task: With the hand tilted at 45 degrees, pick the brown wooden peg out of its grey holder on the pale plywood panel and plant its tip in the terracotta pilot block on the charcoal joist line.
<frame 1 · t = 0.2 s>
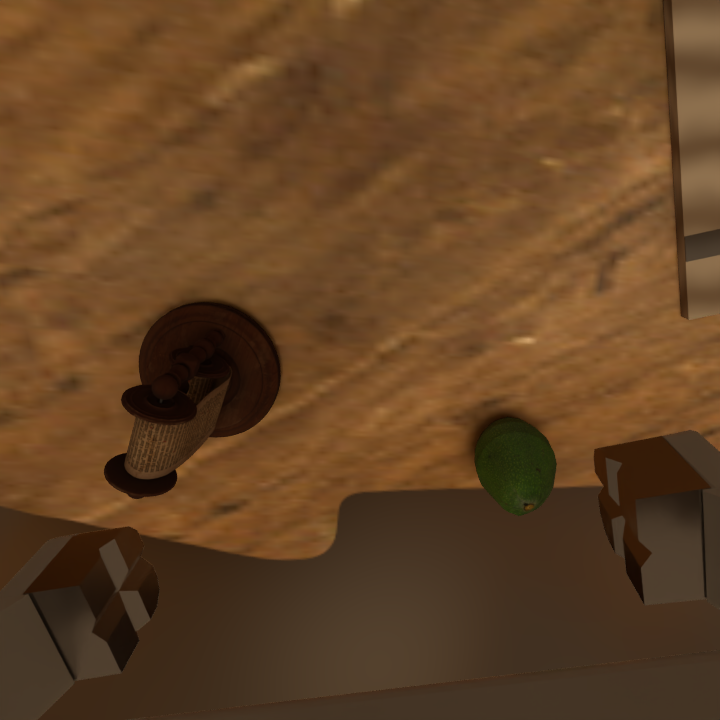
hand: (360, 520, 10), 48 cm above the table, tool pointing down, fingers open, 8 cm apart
avocado: (505, 437, 62), on the table
scroll: (216, 364, 61), on the table
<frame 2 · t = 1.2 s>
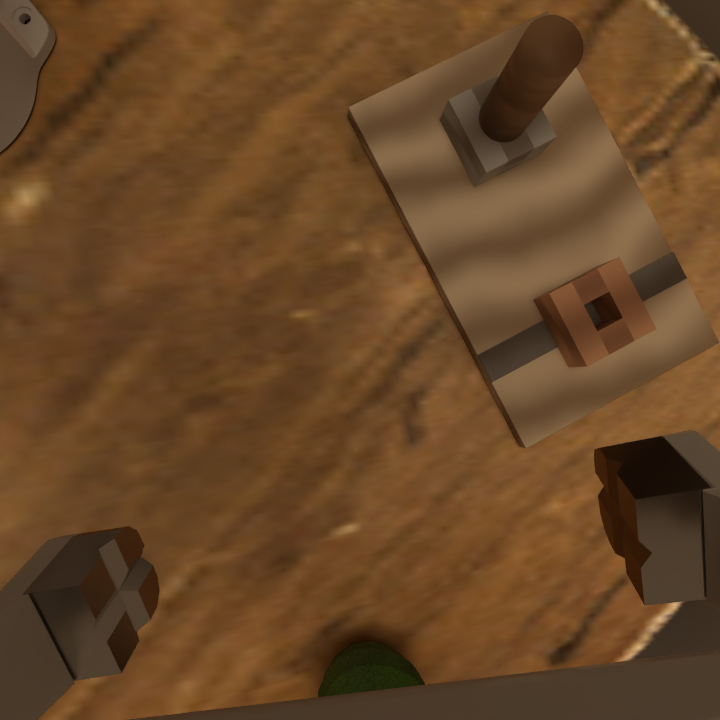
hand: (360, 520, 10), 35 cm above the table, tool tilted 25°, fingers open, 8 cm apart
brown wooden peg: (490, 135, 44), point 2 cm above the table, touching subfloor panel
subfloor panel: (529, 231, 46), on the table
avocado: (368, 672, 44), on the table
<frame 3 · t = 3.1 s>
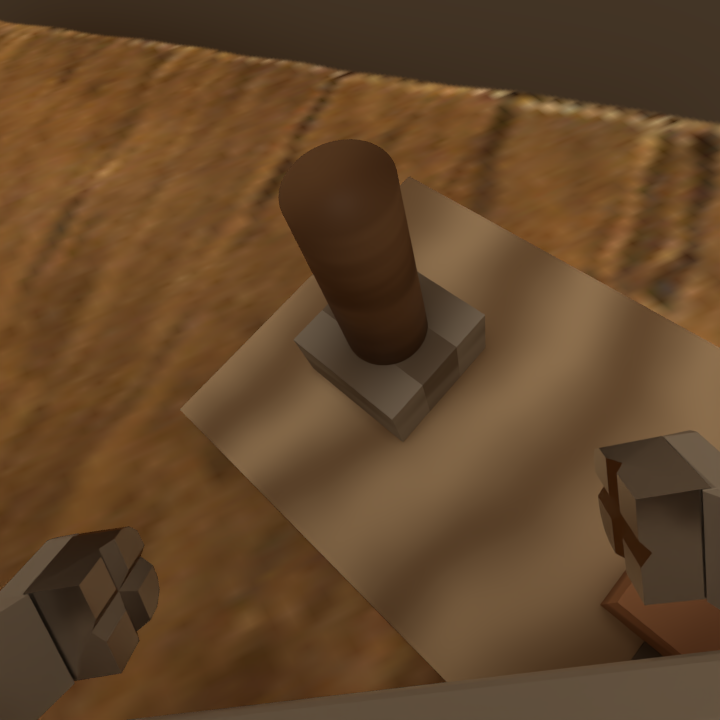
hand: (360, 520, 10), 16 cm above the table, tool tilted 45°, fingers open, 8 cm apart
brown wooden peg: (396, 356, 27), point 2 cm above the table, touching subfloor panel
subfloor panel: (533, 470, 25), on the table
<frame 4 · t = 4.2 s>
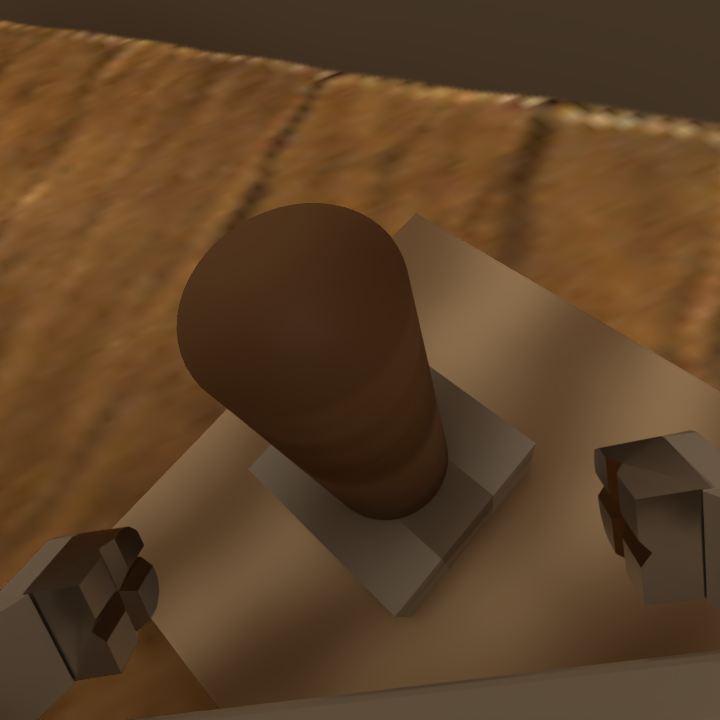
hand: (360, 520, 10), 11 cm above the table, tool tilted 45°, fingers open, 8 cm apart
brown wooden peg: (399, 479, 19), point 2 cm above the table, touching subfloor panel
subfloor panel: (602, 660, 17), on the table
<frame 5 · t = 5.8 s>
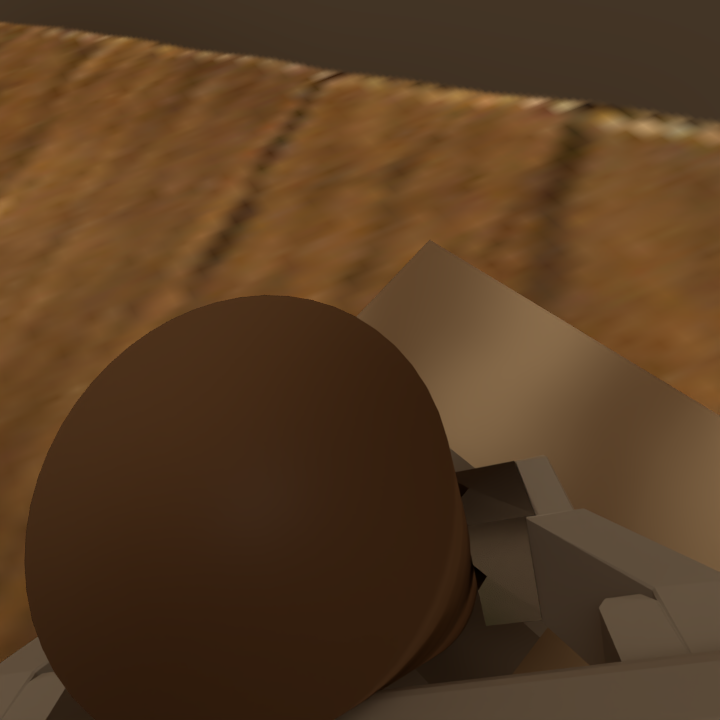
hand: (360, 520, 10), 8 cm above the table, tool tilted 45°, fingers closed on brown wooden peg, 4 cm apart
brown wooden peg: (411, 582, 15), point 2 cm above the table, touching gripper, subfloor panel
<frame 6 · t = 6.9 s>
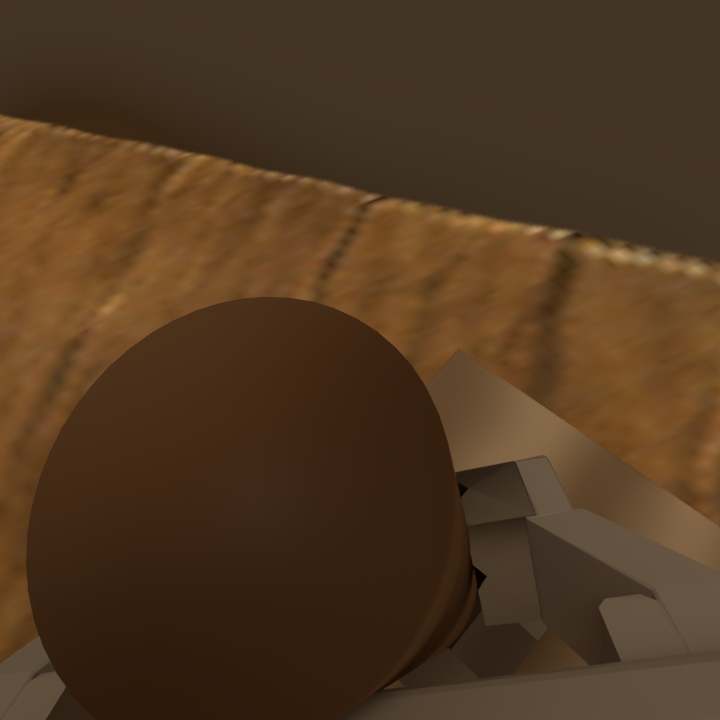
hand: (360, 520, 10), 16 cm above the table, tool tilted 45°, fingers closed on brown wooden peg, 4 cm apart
brown wooden peg: (411, 582, 15), point 10 cm above the table, touching gripper
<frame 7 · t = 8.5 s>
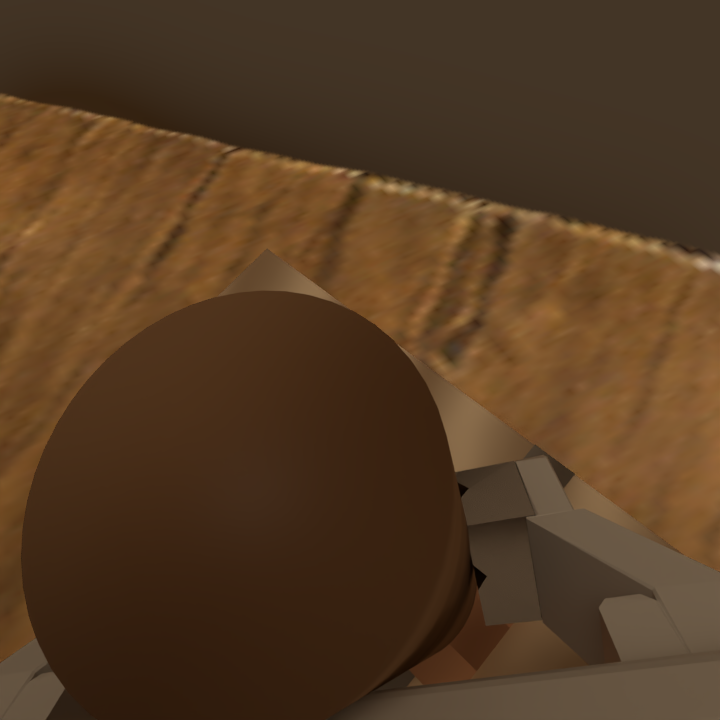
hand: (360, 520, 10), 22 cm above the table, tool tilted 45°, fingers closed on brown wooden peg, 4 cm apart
brown wooden peg: (411, 580, 15), point 15 cm above the table, touching gripper
subfloor panel: (335, 496, 32), on the table
when the fingers open (9 cm above the table, at t = 10.4 s): brown wooden peg drops 1 cm, resting on subfloor panel.
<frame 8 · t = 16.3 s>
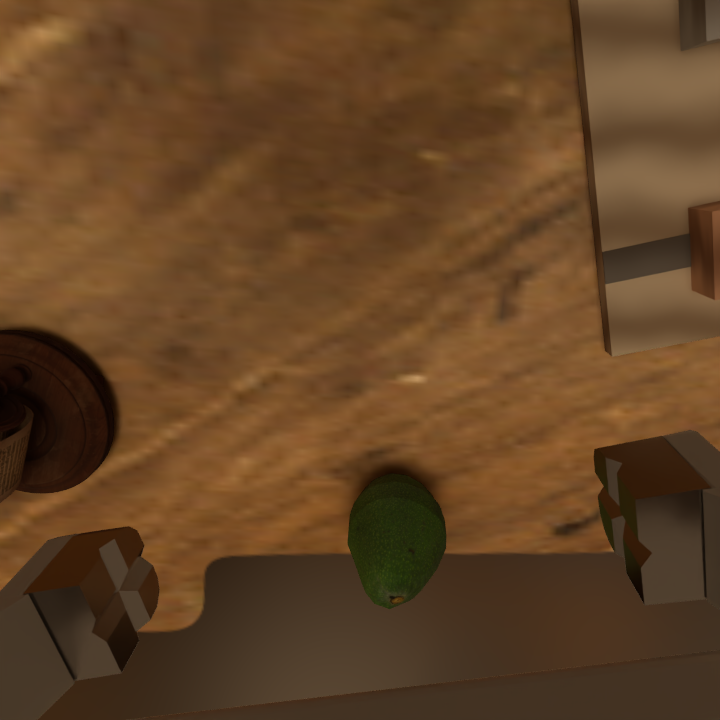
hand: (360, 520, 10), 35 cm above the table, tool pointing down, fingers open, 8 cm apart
subfloor panel: (719, 123, 39), on the table
avocado: (397, 494, 50), on the table
scroll: (41, 404, 50), on the table
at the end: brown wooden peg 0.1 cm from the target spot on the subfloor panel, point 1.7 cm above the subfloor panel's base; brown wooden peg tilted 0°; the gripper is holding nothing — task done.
